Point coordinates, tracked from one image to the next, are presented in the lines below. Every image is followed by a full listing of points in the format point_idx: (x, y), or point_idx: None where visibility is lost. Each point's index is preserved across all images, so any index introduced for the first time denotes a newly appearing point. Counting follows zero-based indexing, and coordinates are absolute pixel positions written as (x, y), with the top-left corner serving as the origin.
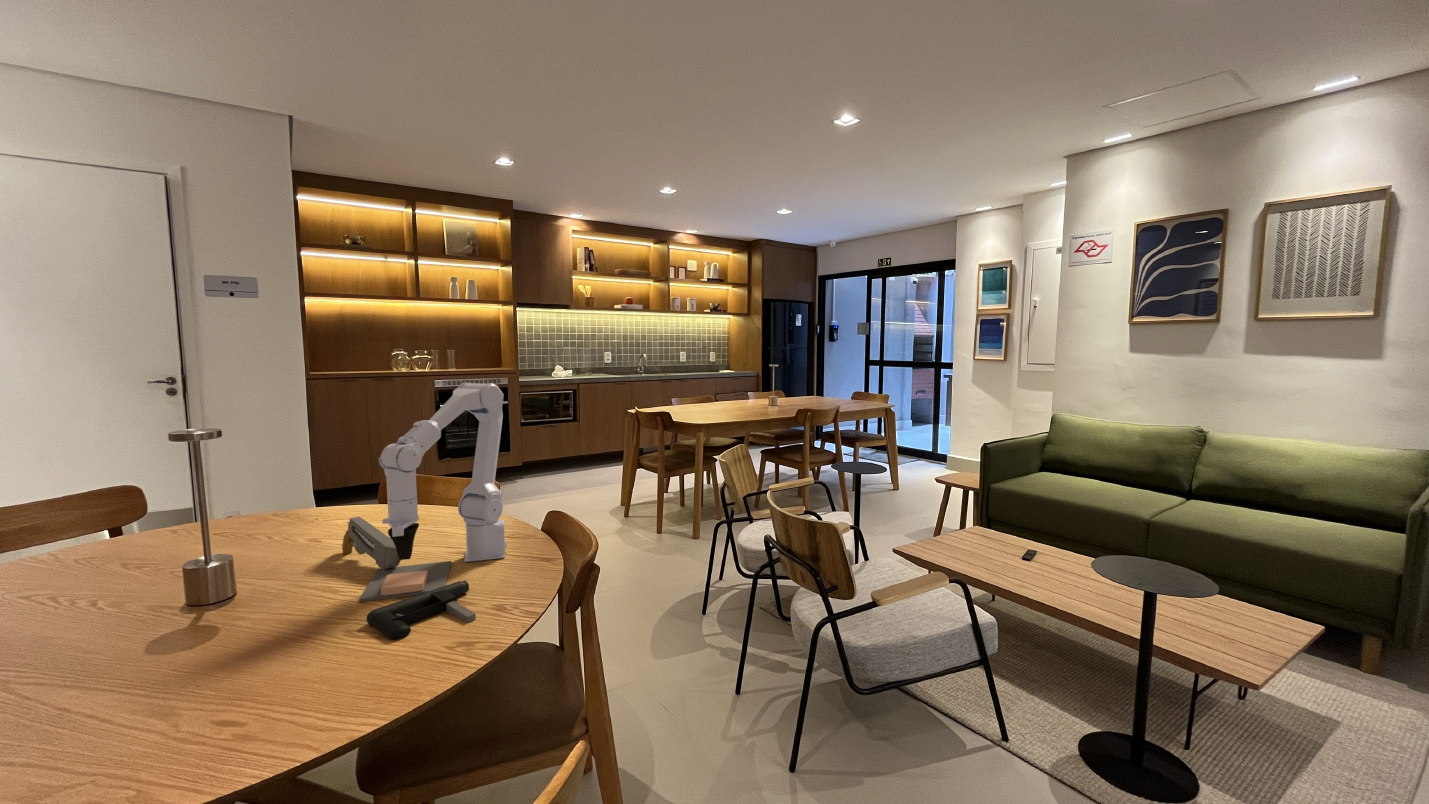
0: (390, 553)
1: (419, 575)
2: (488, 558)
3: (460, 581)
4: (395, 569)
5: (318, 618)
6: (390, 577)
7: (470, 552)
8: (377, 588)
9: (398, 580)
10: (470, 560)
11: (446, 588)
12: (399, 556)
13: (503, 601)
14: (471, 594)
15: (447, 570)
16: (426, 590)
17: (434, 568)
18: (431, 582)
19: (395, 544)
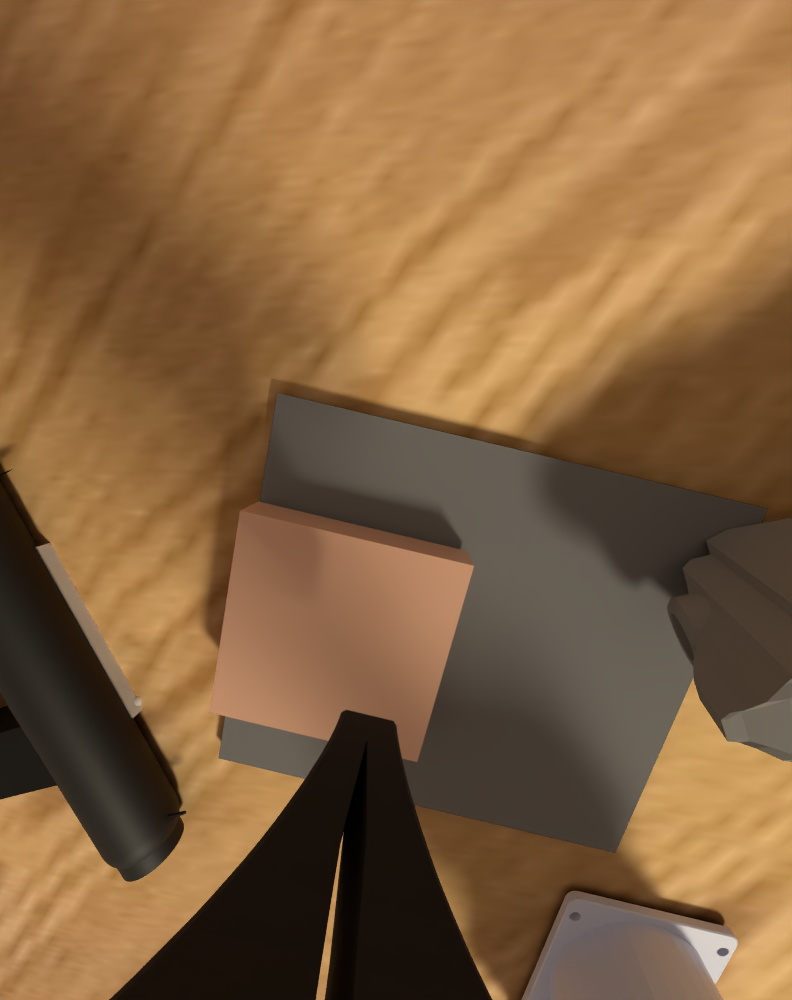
0: (739, 643)
1: None
2: (533, 980)
3: (114, 863)
4: None
5: (149, 185)
6: (407, 574)
7: (607, 971)
8: (399, 489)
9: (324, 609)
10: (561, 917)
11: (64, 794)
12: (331, 736)
13: (18, 897)
14: None
15: (469, 813)
16: None
17: (544, 770)
18: None
19: (246, 861)
